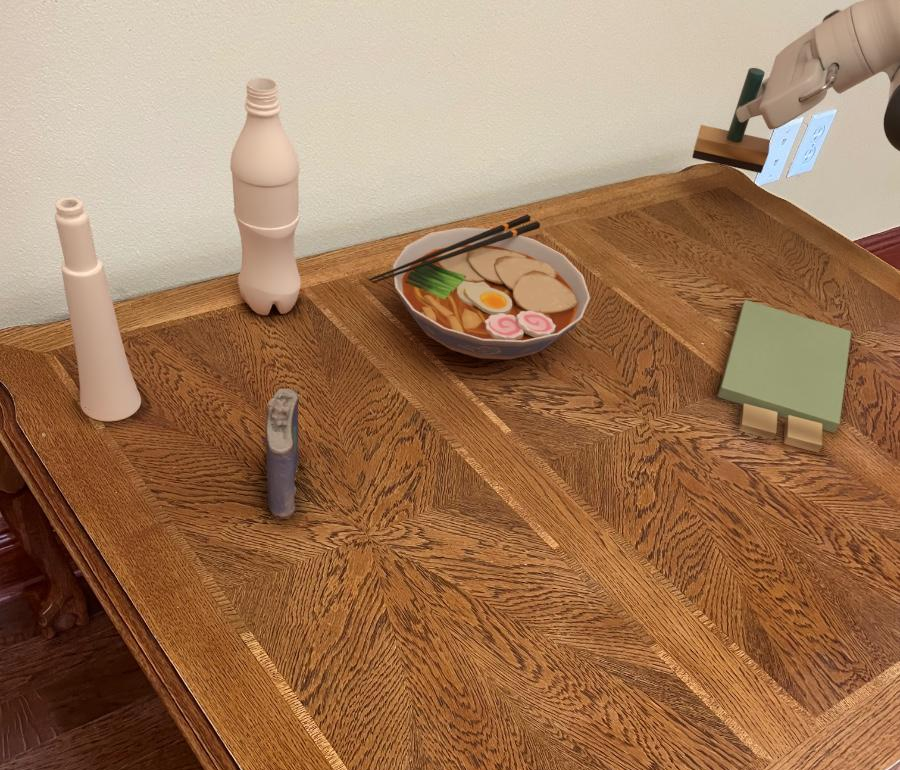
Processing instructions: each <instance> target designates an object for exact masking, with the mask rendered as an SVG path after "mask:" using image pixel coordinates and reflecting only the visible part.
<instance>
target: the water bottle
mask: <svg viewBox="0 0 900 770" xmlns="http://www.w3.org/2000/svg"><path fill="white" fill-rule="evenodd" d="M245 88H246V94H247V95H246V98H245V103H244V109H245V111H246V119H245V123H244V125H243V127H242V129H241V131H240V132H239V135H238V137H237V140H236V141H235V144H234V146H233V149H232V151H231V156H230V165H229V166H230V172H231V178H232V193H233V194H232V195H233V214H234V216H235V219H236V223H237V227H238V230H239V237H240V242H241V266H240V271H239V274H238V277H237V283H238V290H239V292H240V296H241V297H242V299H243V301H244V302H245V303H246V304H247V305H248V306H249V307H250V309H251V310H252V311H254V312H255V313H256V314H258V315H261V316H268V315H269V314H270V312H271V309H272V307H273V305H274V306H275V307H276V309H277V311H278V312H279V313H280V315H284V314H288V313H289V312H290V311H292V309H293V308H294V306H295V305H296V303H297V300H298V297H299V294H300V290H301V286H302V285H301V284H302V281H301V280H302V279H301V275H300V272H299V268H298V265H297V260H296V255H295V254H296V253H295V252H296V251H295V235H296V234H295V233H296V229H297V227H298V224H299V222H300V218H301V213H300V207H299V206H300V204H299V199H300V198H299V196H300V195H299V175H300V164H299V159H298V155H297V152H296V151H295V148H294V146H293V143H292V142H291V140H290V138H289V137H288V135H287V133H286V131H285V129H284V127H283V125H282V122H281V119H280V112H281V104H280V100H279V98H278V97H279V95H278V93H279V92H278V83H277V82H276V81H275V80H274V79H271V78H268V77H264V76H263V77H262V76H261V77H260V76H256V77H252V78H250V79H248V80H247V81H246V87H245Z"/></svg>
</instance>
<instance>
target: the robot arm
mask: <svg viewBox="0 0 900 770" xmlns="http://www.w3.org/2000/svg"><path fill="white" fill-rule="evenodd" d="M880 73H885V74H886V75H887V77H888V79H889V84H890V85H889V90H888V101H887V105H886V107H885V112H884V115H883V132H884V134H885V137H886V139H887V141H888V143H889V144H890V145H891V146H892V147H893V148H894V149H895V150H897V151H898V152H900V0H860V1H857V2H854V3H853V4H851V5H849V6H847V7H845V8H844V9H838V8H837V9H834V10H833V11H830V12H829V13H828V14H826V15H825V16H824V17H823V18H822V21H821V22H820V23H819V24H818V25H815V26H814V27H813V28H811V29H810V30H809V31H807V32H805V33H804V34H803V35H801V36H799V37H798V38H796V39H795V40H793V41H792V42H791V43H790V44H788V45H786V46H785V47H784V48H783V49H782V50H781V51H780V52H779V53H777V55H776V56H775V58H774V60H773V65H772V67H771V71H770V74H769V77H767V78H765V79H763V80H762V83H761V86H760V89H759V92H758V95H757V98H756V99H755V100H753V101H751V102H749V101H747V102H746V103H744V104H743V105H740V106H739V107H738V109H737V111H736V116H737V118H738V120H739V121H740V122H744V121H746V120H748V119H749V120H750V119H752V118H755V117H758V116H762V119H763V120H764V123H765V125H766V127H767V128H768V130H771V131H772V130H775V129H779V128H780V127H781V128H782V126H784V125H786V124H788V123H790V122H791V121H793V120H795V119H797V118H798V117H799V116H802V115H803V114H804V113H806V112H808V111H810V110H812V109H813V108H814V107H815V106H817V105H818V104H820V103H821V102H822V101H823V100H824V99H825V98H826V96H827V93H828V90H829V89H831V88H832V89H833V90H834V92H836V93H837V94H843V93H845V92H846V91H848V90H850V89H852V88H853V87H856V86H857V85H859V84H861V83H863V82H865V81H867V80H868V79H871V78H872V77H874V76H876V75H878V74H880Z"/></svg>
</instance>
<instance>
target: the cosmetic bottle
mask: <svg viewBox="0 0 900 770" xmlns="http://www.w3.org/2000/svg"><path fill="white" fill-rule="evenodd" d="M55 209H56V213H55V215H54V219H55V224H56V225H55V226H56V229H57V234H58V237H59V242H60V247H61V251H62V255H63V261H62V263H61V265H60V266H61V275H62V281H63V287H64V292H65V298H66V305H67V309H68V310H67V311H68V315H69V316H68V317H69V321H70V327H71V331H72V338H73V342H74V343H73V344H74V349H75V355H76V362H77V363H76V364H77V370H78V381H79V405H80V409H81V410H82V412H83V413H84V414H85V415H86V416H87V417H89V418H91V419H93V420H96V421H100V422H117V421H118V422H119V421H123V420H125V419H128V418H130V417H132V416H133V415H134V414H135V413H136V412H138V410H139V409H140V407H141V404H142V397H141V395H140V392H139V390H138V387H137V385H136V381H135V379H134V376H133V374H132V371H131V368H130V365H129V362H128V358H127V355H126V351H125V347H124V343H123V340H122V335H121V331H120V327H119V323H118V320H117V316H116V311H115V307H114V302H113V299H112V294H111V290H110V287H109V283H108V278H107V275H106V271H105V267H104V264H103V261H102V260H101V259H100V258H98V257H97V252H96V247H95V243H94V238H93V232H92V227H91V221H90V217H89V214H88V212H87V211H86V210H85V209H84V204H83V201H82V200H81V199H79V198H77V197H73V196H72V197H71V196H68V197H62V198H60V199H58V200H57V201H55ZM85 407H86V408H85ZM88 409H89V410H88Z"/></svg>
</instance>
